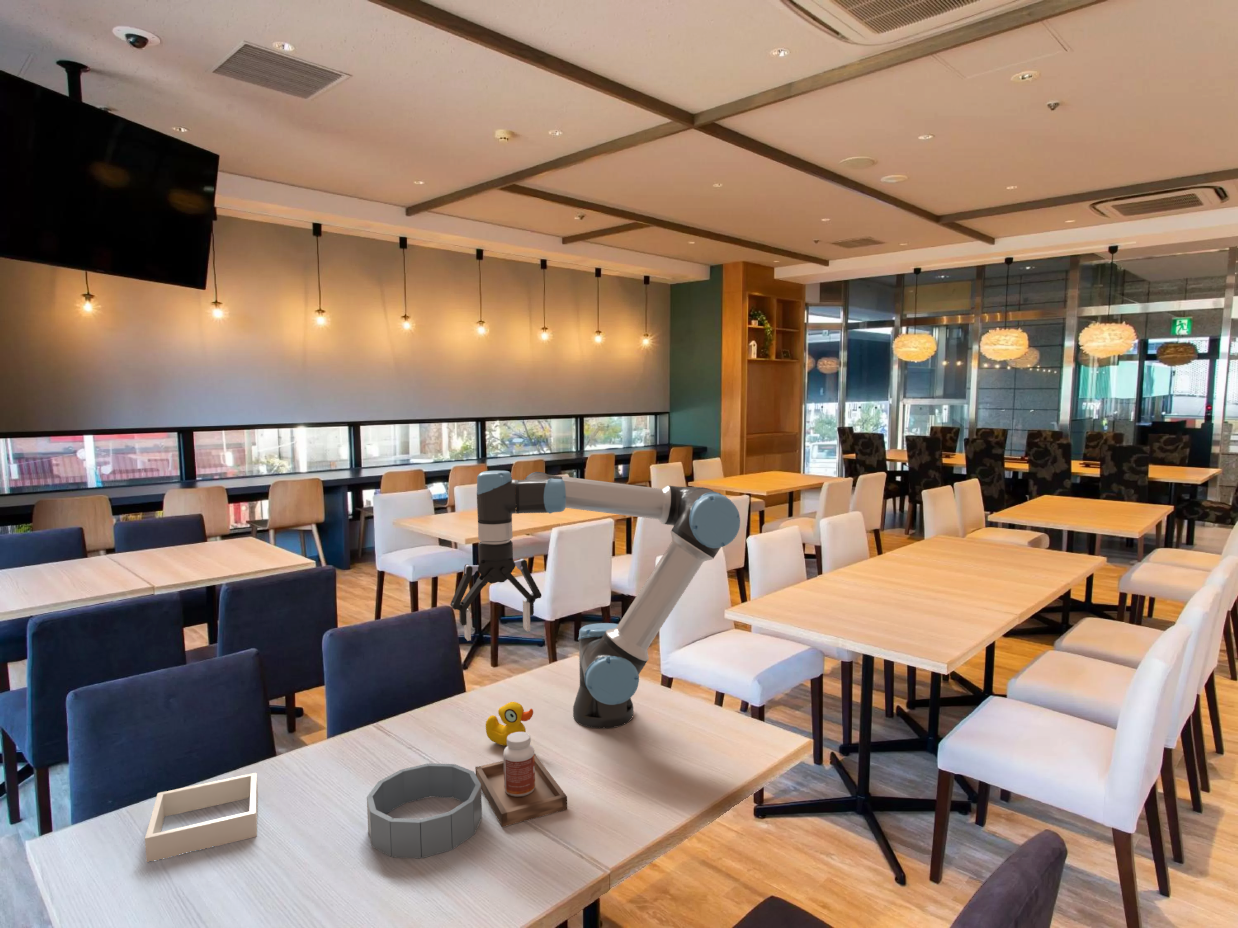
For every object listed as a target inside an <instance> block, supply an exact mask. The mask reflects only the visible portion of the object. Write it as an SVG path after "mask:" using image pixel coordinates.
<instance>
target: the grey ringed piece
mask: <svg viewBox="0 0 1238 928" xmlns="http://www.w3.org/2000/svg"><path fill="white" fill-rule="evenodd" d="M426 798H445V799H446V798H447V799H449V798H451V799H454V800H458V801H459V802H461V804H459V805H457V806H456V807H454V808H452V809H451V810H449V811H447V812H443V813H440V814H436V815H433V816H432V815H431V816H428V817H427V816H426V817H424V818H421V819H420V818H397V817H395V818H394V817H392V816H390V815H388V813H390V812H392V811H394V810H395V809H397V808H398V807H400V806H402V805H404V804H407V803H410V802H411V803H412V802H415V801H419V800H423V799H426ZM482 803H483V802H482V790H481V783H480V782H479V780H478V778H477V776H476V772H475V771H473V770H471V769H468V768H465V767H463V766H461V765H458V764H455V763H430V762H429V763H425V764H419V765H415V766H411V767H406V768H402V769H399V770H398V771H395V772H393V773H391V774H390V775H388V776H386V777H384V778H383V779H380V780H379V781H378V782H376V784H375V786H374V787H373V788H372V789H371V791H370V792H369V793H368V794H367V796H366V810H367V813H366V814H367V833H368V835H369V840H370V845H371V847H372V848H374V849H376V850H378V851H379V852H381V853H383V854H384V855H387V856H388V857H391V858H402V859H403V858H406V859H409V858H410V859H411V858H412V859H425V858H427V857H431V856H434V855H437V854H441V853H442V854H443V853H445V852H449V851H452V850H454V849H455V848H457V847H458V846H460V845H461V844H462V843H465V841H467V840H469V838H471V837H473V836H474V835H475V834H476V832H477V829H478V827H479V825H480V823H481V820H482V819H483V810H482V809H483V806H482Z"/></svg>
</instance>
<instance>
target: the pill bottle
mask: <svg viewBox="0 0 1238 928" xmlns="http://www.w3.org/2000/svg"><path fill="white" fill-rule="evenodd" d="M531 741H532V740H531V735H530V734H529V733H528V732H515V733H512V734H510V735H508V736H507V746H505V747H504V750H503V753H502V754H503V761H504V788H505V792H506V793H507V794H508V795H511V796H515V797H522V796H526V795H528V794H530V793H531V792H533V790H534V789H535V757H534V753H535V748H534V746H533V745H532V744H531Z"/></svg>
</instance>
